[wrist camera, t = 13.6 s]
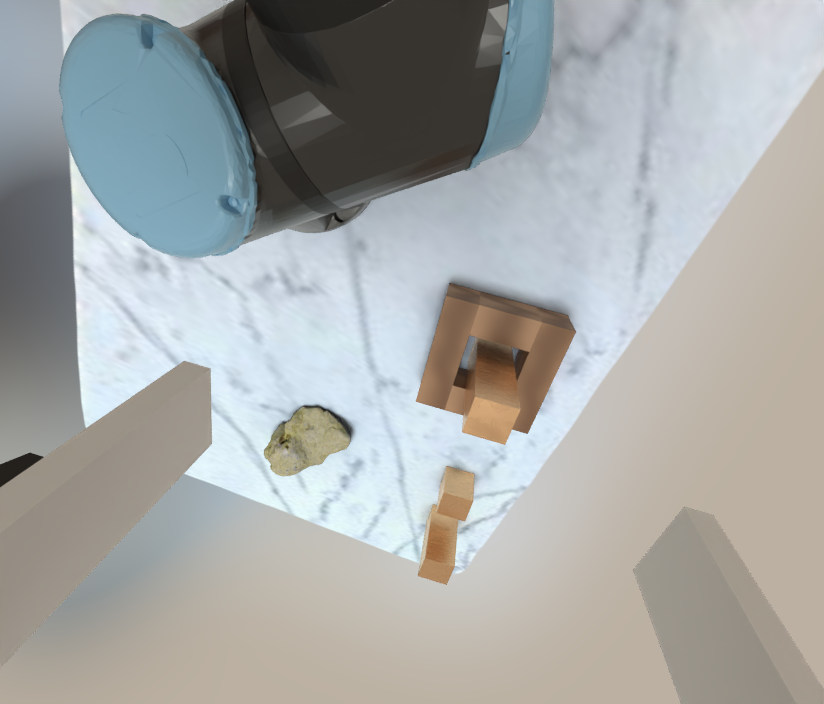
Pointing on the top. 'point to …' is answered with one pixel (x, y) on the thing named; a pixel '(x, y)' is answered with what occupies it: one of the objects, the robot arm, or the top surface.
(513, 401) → the long pin
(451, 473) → the short pin
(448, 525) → the medium pin
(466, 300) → the hole block
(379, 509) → the top surface
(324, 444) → the rock
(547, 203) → the top surface
